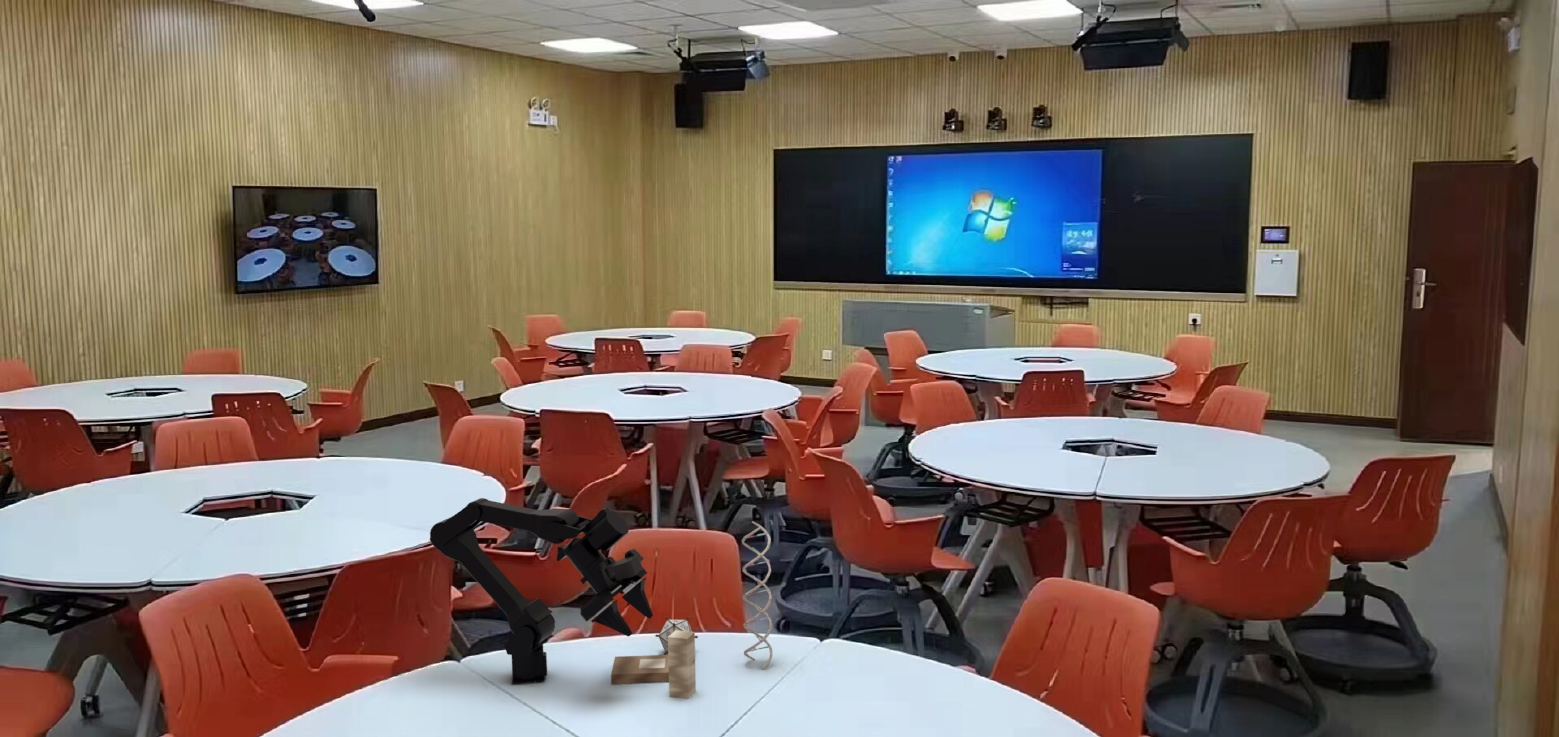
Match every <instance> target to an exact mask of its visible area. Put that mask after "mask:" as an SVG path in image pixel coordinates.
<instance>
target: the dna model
mask: <svg viewBox="0 0 1559 737" xmlns="http://www.w3.org/2000/svg"><path fill="white" fill-rule="evenodd" d="M751 523H752V524H753V525H755V526H756V527H757V528H755V529H754V530H753V531H751V532H750V533H748V534H746V535H744V536H743V538H742V539H741V544H742V545H743V546H744V547H745V548H748V550H750V551H752V552H753V553H755V554H757V556H756V557H755V558H753V559H751V560H750V561H749V562H748V563H746V564H744V566H742V569H741V570H742V571H741V572H743V573H744V574H745V575H746V576H748V577H750V578H751V579H752V580H754V581H755V582H756V583H757V585H756V586H755V587H754V588H752V589H750V590H749V591H747V592H746V593H743V596H742V600H743V601H744V602H745V603H747V604H748V605H750V606H752V607H754V608H755V609H756V610H757V611H758V613H757V614H756V615H755V616H753V617H751V618H750V619H748V620H746V621H745V622H744V623H743V624H742V625H743V628H744V629H745V630H746V631H748V632H750V633H751V634H753V635H755V637H756V638H757V639H758V641H757V642H756V643H754V644H753V645H752V646H750V647H748V648H747V649H745V650H744V651H743V655H744V656H745V657H746V658H749V659H750V660H752V661H755V658H754V657H752V656H751V655H749V653H750V652H753V651H758V650H762V649H769V657H768V659H767V660H766V662H765V664H764V665H763V666H762V667H761V670H765V669H766V668H767V667H768V666H769V664H770V662H771V660H772V659H773V655H774V654H773V647H772V645H771V644H770V642H769V641H768V640H767V638H769V636H770V634H771V630H772V628H773V622H772V618H771V617H770V616H769V614H768V612H766V611H767V610H768V609H769V607H770V605H771V603H772V592H771V589H770V588H769V587H768V586H767V585H766V583H767V581H768V579H769V578H770V575H771V573H772V568H771V567H772V566H771V564H770V562H771V559H768V558H766V557H765V556H764V555H765V554H766V553H767V551H768V550H769V549H770V546H771V542H772V541H771V540H772V539H771V536H770V534H769V532H768V531H767V530H766V529H765V528H764V527H763V526H761V525H760V524H759V523H757V522H755V521H753V520H752V521H751ZM759 530H761V531H763V533H758V534H756V537H760V536H765V535H766V537H767V543H766V544H767V546H766V547H765V549H763V551H762V552H760V551H759V550H757V549H756V548H755V547H754V546H753V547H751V546H750V545H749V544H747V543H746V542H745V541H746V539H749V538H754V537H755V535H754V534H755V533H757V532H758V531H759ZM759 559H763V561H760V562H758V563H757V562H756V561H758V560H759ZM755 562H756V564H755ZM760 564H766V565H767V566H768V571H767V574H766V576H765V578H764V579H763V580H760V579H759V578H757V577H756V576H755V575H752V574H750V573H749V572H747V569H746V568H748V567H752V566H757V565H760ZM760 587H763V588H764V589H763V590H759V591H758V592H757V593H758V594H759V593H763V592H767V594H768V601H767V603H766V606H765V607H763V608H761V607H760V606H759V605H757V604H756V603H753V602H752V601H750V600H749V599H747V597H748V596H750V595H754V594H756V592H754V591H756V590H758V589H759V588H760ZM761 615H764V616H765V617H763V618H759V619H758V622H759V621H763V620H767V621H768V622H769V626H768V630H767V631H766V633H765V634H764V636H763V635H760V634H759V633H758V632H756V631H755V630H753V629H751V628H749V627H748V626H747V625H748V624H752V623H755V622H757V618H758V617H760V616H761ZM762 643H765V644H766V646H762V647H758V646H759V645H760V644H762ZM756 647H758V648H756Z"/></svg>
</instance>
